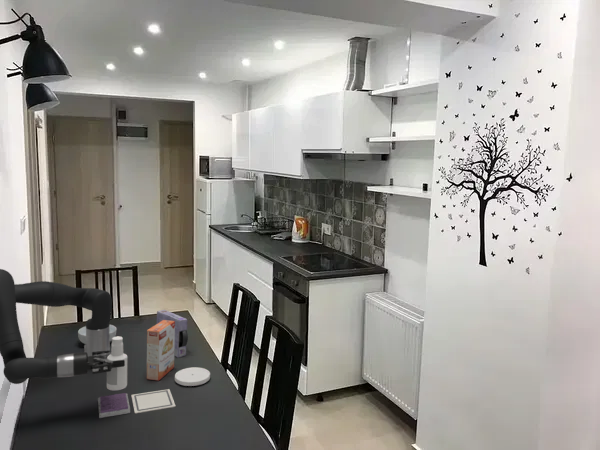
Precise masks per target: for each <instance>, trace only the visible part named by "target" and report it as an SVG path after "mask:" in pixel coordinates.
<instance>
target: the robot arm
mask: <svg viewBox="0 0 600 450" xmlns="http://www.w3.org/2000/svg"><path fill="white" fill-rule="evenodd" d="M17 304H24V305H26V304H27V305H36V306H44V307H52V308H53V307H54V308H55V307H65V306H73V307H78V308H81V309H82V308H83V309H85V310H87V311H91V318H88V319H87V320H86V321H85V326H86V344H84V345H83V347H84V348H83V349H84V352H75V353H74V352H73V353H66V354H61V355H55V356H53V355H52V356H45V357H27V356H26V352H25V349H24V342H23V338H22V334H21V330H20V325H19V321H18V313H17ZM112 309H113V300H112V296H111V293H110V292H108V291H106V290H104V289H100V288H99V289H98V288H93V287H89V288H88V287H87V288H86V287H74V286H71V285H67V284H63V283H58V282H54V281H45V280H43V281H42V280H40V281H33V282H26V283H18V284H17V283H15V280H14V278H13V276H12V274H11V273H10V272H9V271H7V270H6V269H2V268H0V355H1V358H2V361H3V365H4V368H3V375H4V377H5V378H6V380H7V381H8V382H9V383H11V384H14V385H20V384H23V383H25V382H26V381H27V380H28V379H37V378H39V379H41V380H45V379H46V380H47V379H54V378H69V377H76V376H77V377H78V376H86V375H88V373H89V370H91V371H92V372H91V373H92V374H93V375H95V374H102V373H107V372H109V371H111V369H113V368H116V367H124V366H125V361H124V360H117V361H107V357H108V356H109V355H110V354H111V344H110V343H111V341H110V329H109V325H110V322H111V321H112V314H113V313H112V311H113V310H112ZM107 363H108V364H107Z"/></svg>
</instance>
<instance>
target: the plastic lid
mask: <svg viewBox="0 0 600 450" xmlns="http://www.w3.org/2000/svg"><path fill="white" fill-rule="evenodd" d="M210 379H211V371H209V370H208V369H206V368H204V367H197V366H196V367H195V366H194V367H186V368H183V369H180V370H178V371H177V372H176V373H175V374H174V382H175V383H177V384H178V385H181V386H185V387H187V386H188V387H192V386H193V387H194V386H201V385H203V384H205V383H207V382H209V381H210Z"/></svg>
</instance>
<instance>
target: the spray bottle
mask: <svg viewBox="0 0 600 450" xmlns="http://www.w3.org/2000/svg"><path fill="white" fill-rule="evenodd" d="M123 341H124V340H123V337H122V336H115V337H113V338H112V341H111V344H110V352H111V354H110V355H109V356H108V357H107V361H117V360H124V361H125V366H124V367H116V368H113V369H111V371H109V372H106V388H107V389H108V390H110V391H121V390H123V389H126V388H127V386H128V355H127V354H126V353H124V342H123ZM107 364H108V363H107Z"/></svg>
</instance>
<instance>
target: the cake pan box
mask: <svg viewBox="0 0 600 450" xmlns="http://www.w3.org/2000/svg"><path fill="white" fill-rule="evenodd" d="M162 320H168V321H175V348H174V357H176V358H178V359H179V358H182V357H185V356H187V344H188V341H189V336H188V335H189V333H188V319H187V318H186V317H182V316H181V315H179V314H175V313H173V312H171V311H169V310H166V309H161V310H157V312H156V324H158V323H159V322H161V321H162Z"/></svg>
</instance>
